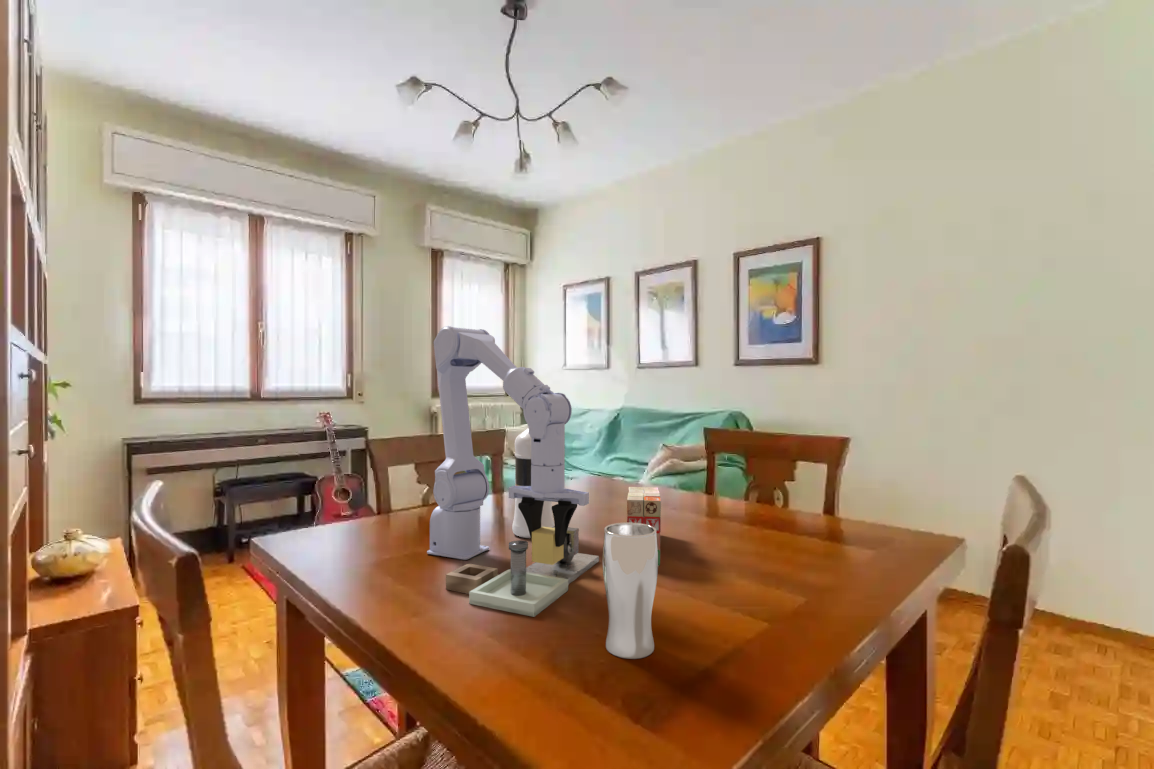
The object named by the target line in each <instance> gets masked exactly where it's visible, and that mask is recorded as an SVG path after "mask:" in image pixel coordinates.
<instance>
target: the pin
mask: <svg viewBox="0 0 1154 769" xmlns="http://www.w3.org/2000/svg"><path fill="white" fill-rule="evenodd" d="M528 549H529V542H528V541H526V540H521V539H520V540H517V539H516V540H513V541H512V540H511V541H509V542H508V550H510V570H511V595H513V596H522V595H525V594H526V568H527V550H528Z"/></svg>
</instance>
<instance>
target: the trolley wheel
mask: <svg viewBox="0 0 1154 769" xmlns="http://www.w3.org/2000/svg"><path fill="white" fill-rule="evenodd" d="M551 528H555V525H554V526H553V527H551ZM579 531H580V529H579V528H578V527H569V526H568V529H567V533H566V537H565V542H564V558H563V559H561V560H560V561H558V562H557V563H555V564H554V565H550V564H544V563H537V562H532V564H530V565H528V566H526V572H528V573H534V574H540V575H546V576H552V577H558V578H564V579H568V585H570V584H571V583H573V582H574V581H575V580H577V578H580V576H582V575H583V574H584V573H586V572H587V571H588V570H590V569H591V568H592V567H593V566H595V565H596V564H598V563H599V561H600V556H599V555H595V554H594V555H593V554H588V553H580V552H579V536H580V535H579V534H580V533H579Z"/></svg>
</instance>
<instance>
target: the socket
mask: <svg viewBox="0 0 1154 769" xmlns="http://www.w3.org/2000/svg"><path fill="white" fill-rule="evenodd" d="M498 573H499V570H498V568H496V567H490V566H485V565H480V564H472V563H466V564H464V565H463V566H460V567H458V568H456V569H453V570H452V571H449V572H447V573H446V574H445V590H447V591H452V592H453V591H454V592H458V593H463V594H467V595H469V592H470V591H471V590H473V589H475V588H477V587H478V586H480V585H482V584H484V583H485V582H487V581H489V580H491V579H492V578H494V577H496V576H498V575H499V574H498Z"/></svg>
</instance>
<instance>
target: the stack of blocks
mask: <svg viewBox="0 0 1154 769" xmlns="http://www.w3.org/2000/svg"><path fill="white" fill-rule="evenodd" d="M626 498H627V499H626V522H629V523H641V524H647V525H650V526H653V527H654V528H655V529H656V537H657V549H658V567H659V566H661V531H662V530H661V527H662V525H661V524H662V520H661V519H662V518H661V512H662V511H661V510H662V508H661V507H662V500H661V493H660V490H659V487H658V486H656V487H655V486H653V487H652V486H650V487H649V486H648V487H647V486H640V487H639V486H628V493H627V497H626Z"/></svg>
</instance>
